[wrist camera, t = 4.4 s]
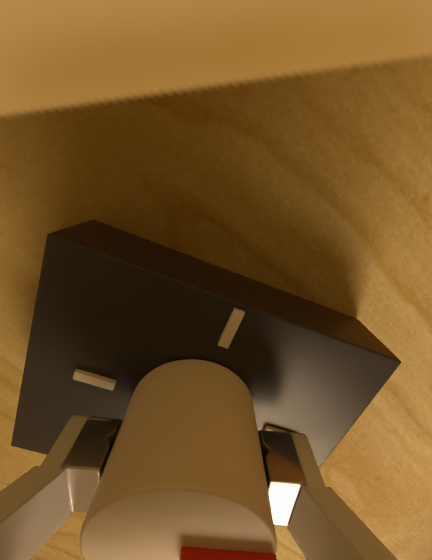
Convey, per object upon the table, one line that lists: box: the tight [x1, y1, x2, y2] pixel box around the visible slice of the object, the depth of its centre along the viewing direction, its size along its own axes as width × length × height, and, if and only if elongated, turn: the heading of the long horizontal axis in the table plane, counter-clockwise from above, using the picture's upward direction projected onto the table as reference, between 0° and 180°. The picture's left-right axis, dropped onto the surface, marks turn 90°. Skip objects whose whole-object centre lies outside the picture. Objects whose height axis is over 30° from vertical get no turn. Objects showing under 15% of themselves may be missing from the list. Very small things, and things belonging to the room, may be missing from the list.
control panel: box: [11, 220, 401, 468], centre depth 11 cm, size 12×9×3 cm
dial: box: [80, 359, 277, 560], centre depth 8 cm, size 4×4×4 cm
